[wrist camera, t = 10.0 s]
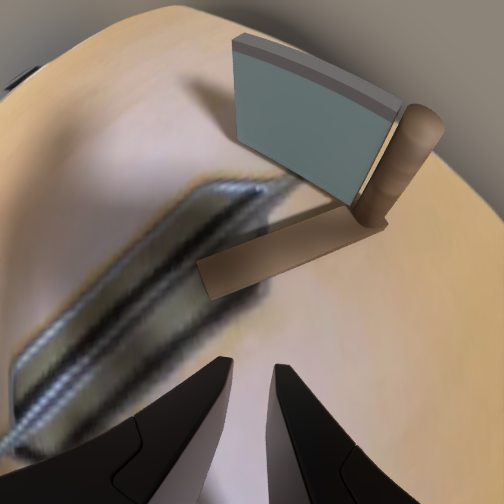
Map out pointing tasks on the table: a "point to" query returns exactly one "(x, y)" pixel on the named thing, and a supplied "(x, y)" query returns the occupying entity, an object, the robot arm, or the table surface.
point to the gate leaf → (309, 114)
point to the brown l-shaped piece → (330, 215)
